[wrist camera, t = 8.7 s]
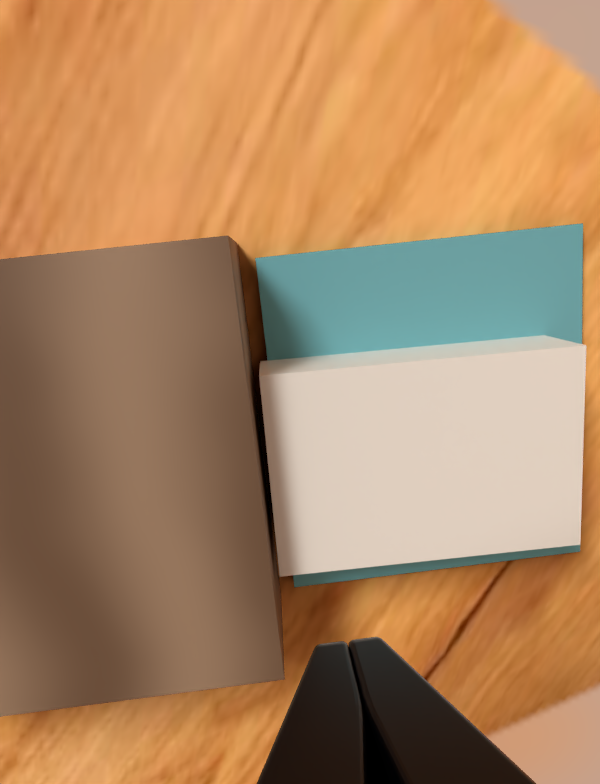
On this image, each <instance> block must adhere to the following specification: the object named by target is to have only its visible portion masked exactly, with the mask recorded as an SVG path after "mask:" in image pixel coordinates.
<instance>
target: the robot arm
mask: <svg viewBox="0 0 600 784" xmlns="http://www.w3.org/2000/svg"><path fill="white" fill-rule="evenodd" d="M257 784H536V783H535V782H534V781H533V780H532V779H531V778H530V777H529V776H528V775H526V774H525V773H524V772H523V771H522V770H521V769H520V768H519V767H518V766H517V765H516V764H515V763H514V762H513V761H511V760H510V759H509V758H508V757H507V756H506V755H505V754H504V753H503V752H502V751H501V750H500V749H499V748H497V746H496V745H494V744H493V743H492V742H491V741H490V740H489V739H488V738H487V737H486V736H485V735H484V734H483V733H482V732H481V731H480V730H478V729H477V728H476V727H475V726H474V725H473V724H472V723H471V722H470V721H469V720H468V719H467V718H466V717H465V716H464V715H462V714H461V713H460V712H459V711H458V710H457V709H456V708H455V707H454V706H453V705H452V704H451V703H450V702H449V701H447V700H446V699H445V698H444V697H443V696H442V695H441V694H440V693H439V692H438V691H437V690H436V689H435V688H434V687H433V686H431V685H430V684H429V683H428V682H427V681H426V680H425V679H424V678H423V677H422V676H421V675H420V674H419V673H418V672H417V671H415V670H414V669H413V668H412V667H411V666H410V665H409V664H408V663H407V662H406V661H405V660H404V659H403V658H402V657H401V656H399V655H398V654H397V653H396V652H395V651H394V650H393V649H392V648H391V647H390V646H389V645H388V644H387V643H386V642H385V641H383V640H382V639H381V638H379V637H371V638H364V639H356V640H352V641H351V642H350V643H349V647H348V645H347V643H346V642H344V641H340V642H332V643H325V644H319V645H317V646H316V647H315V649H314V651H313V653H312V655H311V658H310V660H309V662H308V665H307V667H306V669H305V672H304V674H303V676H302V679H301V681H300V683H299V686H298V688H297V690H296V693H295V695H294V697H293V700H292V702H291V704H290V707H289V709H288V711H287V714H286V716H285V719H284V721H283V723H282V726H281V728H280V730H279V733H278V735H277V737H276V740H275V742H274V744H273V747H272V749H271V751H270V754H269V756H268V758H267V761H266V763H265V765H264V768H263V770H262V772H261V775H260V777H259V780H258V782H257Z"/></svg>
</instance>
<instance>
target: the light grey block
mask: <svg viewBox="0 0 600 784" xmlns="http://www.w3.org/2000/svg"><path fill="white" fill-rule="evenodd" d="M585 371H586V345H583V344H579V343H575V342H570V341H566V340H562V339H558V338H554V337H550V336H546V335H540V336H529V337H518V338H507V339H496V340H486V341H475V342H464V343H453V344H442V345H431V346H421V347H410V348H399V349H388V350H377V351H366V352H356V353H345V354H334V355H323V356H312V357H302V358H291V359H280V360H269V361H260V371H259V380H260V389H261V399H262V409H263V419H264V428H265V438H266V448H267V458H268V468H269V477H270V487H271V497H272V507H273V517H274V526H275V536H276V546H277V556H278V565H279V575H280V577H282V576H291V575H300V574H310V573H319V572H328V571H338V570H347V569H357V568H366V567H375V566H385V565H394V564H403V563H413V562H422V561H432V560H441V559H450V558H460V557H469V556H478V555H488V554H497V553H507V552H516V551H525V550H535V549H544V548H553V547H563V546H572V545H580V541H581V507H582V473H583V439H584V405H585Z"/></svg>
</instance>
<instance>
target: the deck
mask: <svg viewBox="0 0 600 784" xmlns="http://www.w3.org/2000/svg"><path fill="white" fill-rule="evenodd" d="M284 679H285V677H284V652H283V628H282V604H281V591H280V583H279V575H278V567H277V559H276V551H275V543H274V535H273V527H272V519H271V511H270V503H269V495H268V487H267V479H266V471H265V463H264V455H263V447H262V439H261V431H260V423H259V415H258V407H257V399H256V391H255V383H254V375H253V367H252V359H251V351H250V343H249V334H248V326H247V318H246V310H245V302H244V294H243V286H242V278H241V270H240V262H239V254H238V246H237V243H236V242H235V241H234V240H233V239H231V238H230V237H229V236H220V237H210V238H201V239H191V240H182V241H172V242H162V243H153V244H143V245H134V246H124V247H114V248H105V249H95V250H86V251H76V252H67V253H57V254H47V255H38V256H28V257H19V258H9V259H0V717H1V716H8V715H16V714H24V713H31V712H39V711H47V710H54V709H62V708H70V707H77V706H85V705H93V704H100V703H108V702H116V701H123V700H131V699H139V698H146V697H154V696H162V695H169V694H177V693H185V692H192V691H200V690H208V689H215V688H223V687H231V686H238V685H246V684H254V683H261V682H269V681H277V680H284Z"/></svg>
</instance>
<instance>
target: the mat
mask: <svg viewBox="0 0 600 784" xmlns="http://www.w3.org/2000/svg"><path fill="white" fill-rule="evenodd" d="M255 259H256V267H257V276H258V284H259V293H260V301H261V309H262V318H263V326H264V335H265V343H266V352H267V360H268V361H269V360H280V359H291V358H302V357H312V356H323V355H334V354H345V353H356V352H366V351H377V350H388V349H399V348H410V347H421V346H431V345H442V344H453V343H464V342H475V341H486V340H496V339H507V338H518V337H529V336H540V335H546V336H550V337H554V338H558V339H562V340H566V341H570V342H575V343H579V344H582V279H583V224H573V225H564V226H555V227H545V228H536V229H526V230H517V231H507V232H498V233H488V234H479V235H469V236H460V237H451V238H441V239H432V240H422V241H413V242H403V243H394V244H384V245H375V246H366V247H356V248H347V249H337V250H328V251H318V252H309V253H299V254H290V255H281V256H271V257H262V258H255ZM572 552H580V545H572V546H563V547H553V548H544V549H535V550H525V551H516V552H507V553H497V554H488V555H478V556H469V557H460V558H450V559H441V560H432V561H422V562H413V563H403V564H394V565H385V566H375V567H366V568H357V569H347V570H338V571H328V572H319V573H310V574H300V575H293V580H294V587H301V586H309V585H317V584H325V583H333V582H341V581H349V580H357V579H365V578H373V577H381V576H389V575H397V574H405V573H413V572H421V571H429V570H437V569H445V568H453V567H461V566H469V565H477V564H485V563H493V562H501V561H509V560H517V559H525V558H533V557H540V556H548V555H556V554H564V553H572Z"/></svg>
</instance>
